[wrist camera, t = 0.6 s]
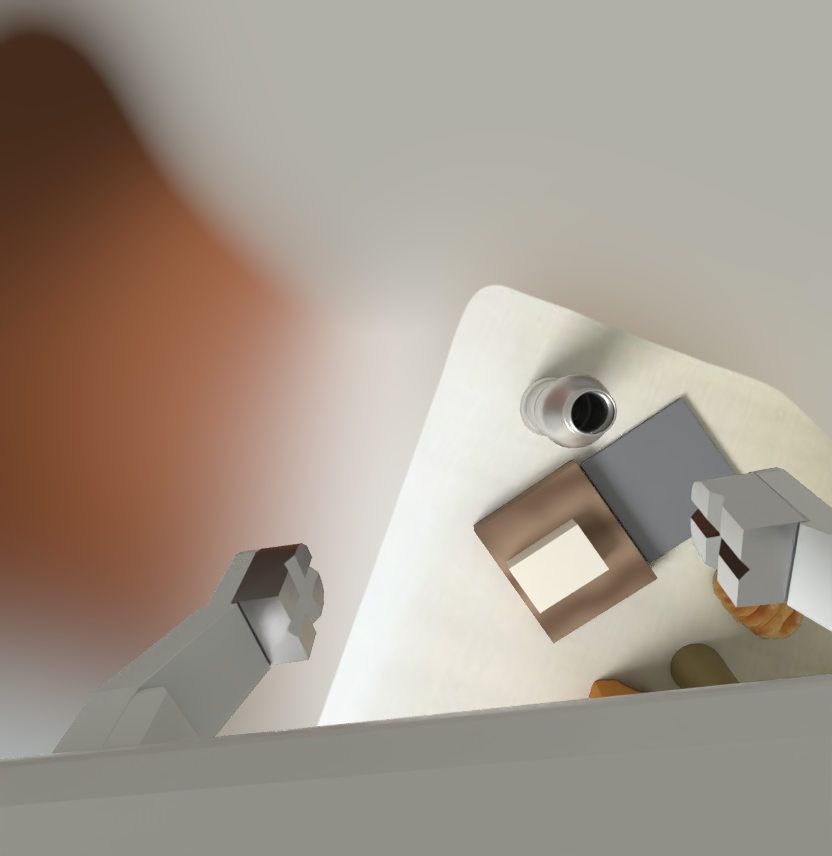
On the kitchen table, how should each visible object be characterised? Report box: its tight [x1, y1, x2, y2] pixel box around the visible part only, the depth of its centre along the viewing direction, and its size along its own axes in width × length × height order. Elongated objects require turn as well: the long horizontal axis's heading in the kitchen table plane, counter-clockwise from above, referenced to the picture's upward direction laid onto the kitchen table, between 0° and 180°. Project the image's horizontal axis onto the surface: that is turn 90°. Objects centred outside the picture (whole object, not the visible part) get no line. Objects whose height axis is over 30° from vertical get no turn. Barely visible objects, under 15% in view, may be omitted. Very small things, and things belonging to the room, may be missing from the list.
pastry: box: [713, 570, 804, 639], centre depth 55 cm, size 9×7×4 cm
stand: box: [474, 460, 657, 643], centre depth 57 cm, size 16×14×2 cm
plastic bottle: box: [520, 374, 617, 448], centre depth 47 cm, size 6×7×20 cm
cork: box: [671, 644, 739, 689], centre depth 52 cm, size 6×6×11 cm
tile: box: [507, 519, 609, 613], centre depth 54 cm, size 6×9×2 cm, turn 126°
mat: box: [580, 398, 735, 563], centre depth 56 cm, size 14×14×1 cm
